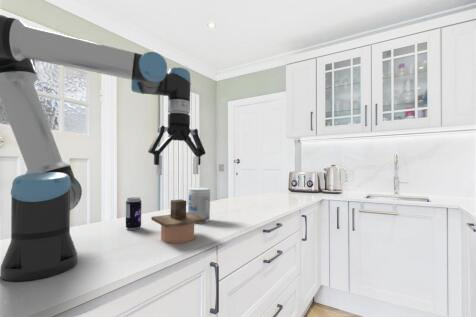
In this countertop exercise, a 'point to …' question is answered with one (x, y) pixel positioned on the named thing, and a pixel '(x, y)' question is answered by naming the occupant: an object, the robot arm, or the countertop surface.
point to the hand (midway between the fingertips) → (178, 174)
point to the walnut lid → (178, 216)
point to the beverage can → (133, 213)
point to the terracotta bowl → (177, 233)
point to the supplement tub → (199, 202)
